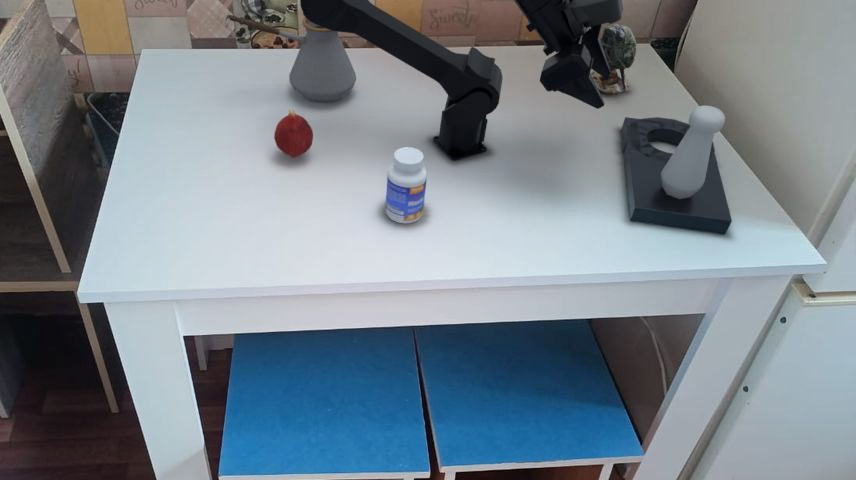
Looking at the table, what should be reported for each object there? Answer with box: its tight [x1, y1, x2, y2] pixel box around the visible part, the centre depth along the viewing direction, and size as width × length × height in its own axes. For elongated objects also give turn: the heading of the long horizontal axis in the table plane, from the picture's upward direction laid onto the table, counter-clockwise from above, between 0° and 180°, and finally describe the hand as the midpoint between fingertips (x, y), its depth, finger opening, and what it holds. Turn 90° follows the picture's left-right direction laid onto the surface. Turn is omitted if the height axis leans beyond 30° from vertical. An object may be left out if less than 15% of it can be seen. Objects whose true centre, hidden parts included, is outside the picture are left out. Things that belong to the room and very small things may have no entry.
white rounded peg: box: [661, 105, 726, 199], centre depth 101 cm, size 6×6×13 cm
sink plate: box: [620, 116, 733, 235], centre depth 111 cm, size 25×13×2 cm, turn 168°
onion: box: [273, 109, 314, 158], centre depth 110 cm, size 6×6×8 cm
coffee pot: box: [224, 14, 357, 104], centre depth 121 cm, size 21×12×15 cm, turn 102°
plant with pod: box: [590, 23, 638, 95], centre depth 124 cm, size 8×11×20 cm
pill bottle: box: [384, 146, 428, 224], centre depth 101 cm, size 5×5×10 cm
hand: (604, 90), depth 103 cm, fingers open, 9 cm apart
